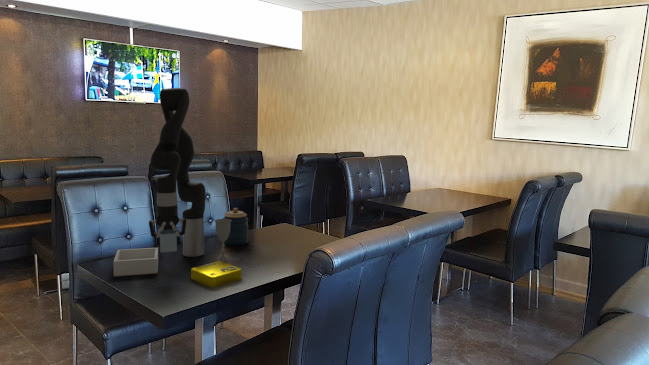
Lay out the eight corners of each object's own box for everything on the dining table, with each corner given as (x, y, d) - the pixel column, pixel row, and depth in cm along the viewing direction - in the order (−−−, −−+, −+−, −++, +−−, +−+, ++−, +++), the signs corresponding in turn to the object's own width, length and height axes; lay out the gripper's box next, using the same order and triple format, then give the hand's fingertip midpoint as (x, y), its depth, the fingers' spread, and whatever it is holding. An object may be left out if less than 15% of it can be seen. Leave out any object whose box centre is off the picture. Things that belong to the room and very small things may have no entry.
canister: (217, 244, 231) (217, 209, 228) (229, 237, 243) (229, 204, 240) (241, 247, 227) (241, 211, 224) (252, 240, 239) (253, 206, 237)
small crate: (176, 245, 186) (176, 228, 185) (176, 251, 179) (176, 233, 177) (160, 246, 184) (159, 229, 183) (160, 252, 177) (159, 234, 176)
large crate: (158, 260, 202) (158, 247, 201) (157, 273, 187) (157, 258, 186) (118, 263, 197) (117, 249, 196) (113, 276, 182) (113, 261, 181)
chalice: (214, 263, 202) (214, 222, 199) (214, 258, 208) (214, 218, 206) (232, 262, 204) (232, 222, 201) (230, 257, 210) (230, 218, 208)
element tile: (220, 270, 194) (220, 259, 194) (243, 279, 185) (243, 267, 184) (189, 279, 183) (188, 267, 182) (212, 289, 174) (212, 276, 173)
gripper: (186, 200, 184) (187, 241, 187) (147, 202, 180) (148, 244, 182) (187, 204, 177) (188, 247, 180) (146, 206, 173) (148, 250, 175)
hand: (168, 245), depth 181 cm, fingers closed on small crate, 6 cm apart
